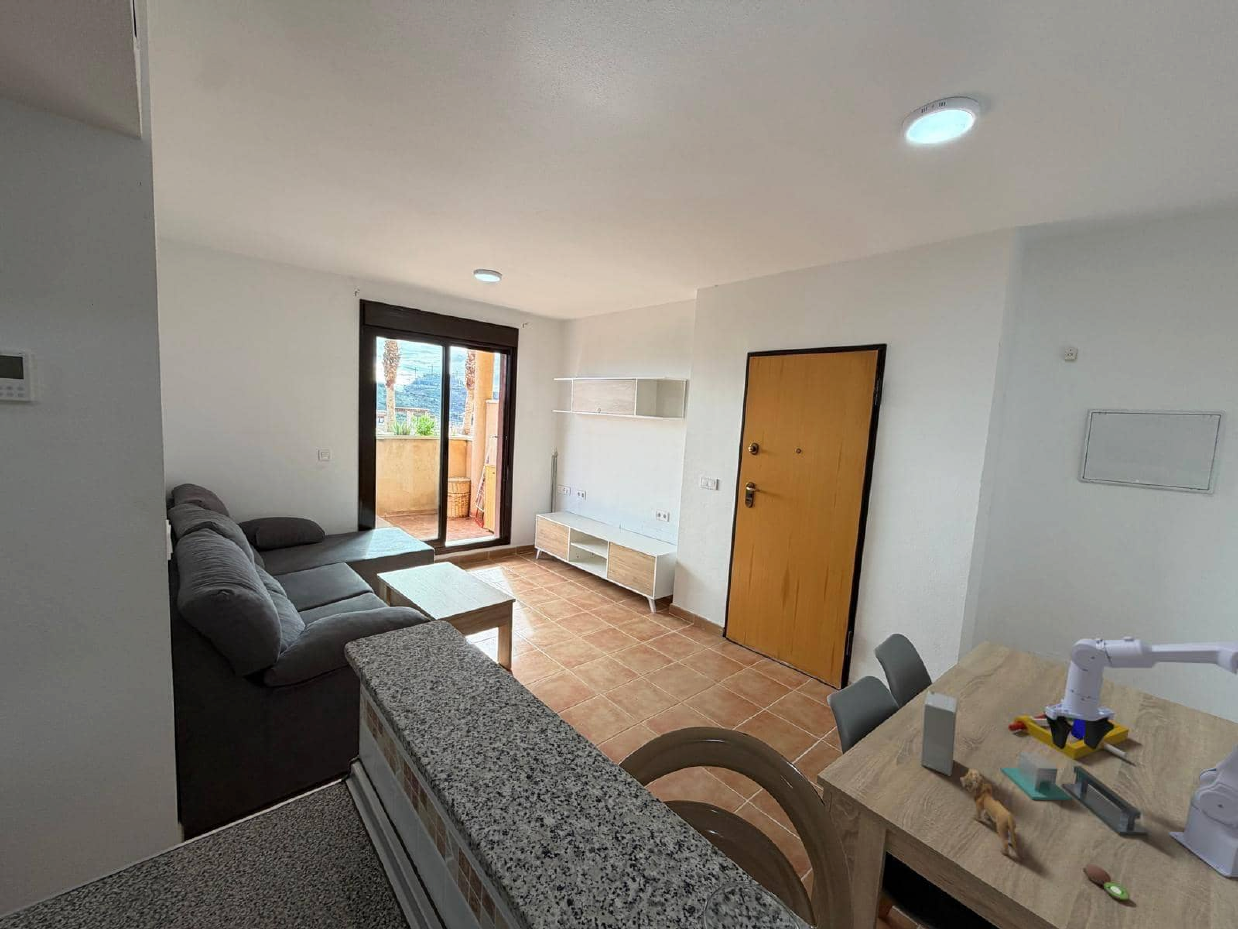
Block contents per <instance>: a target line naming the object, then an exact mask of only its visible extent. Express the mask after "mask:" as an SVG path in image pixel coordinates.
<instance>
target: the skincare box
mask: <svg viewBox="0 0 1238 929" xmlns="http://www.w3.org/2000/svg"><path fill="white" fill-rule="evenodd" d="M923 708H924V709H923V721H922V722H923V723H922V736H921V751H920V765H922V766H924V767H926V768H929V769H931V770H934V771H937V772H939V773H941V774H944V775H947V776H949V777H951V776H952V772H953V763H954V752H955V751H954V748H955V737H956V734H955V733H956V722H957V711H958V698H954V697H952V696H948V695H945V694H944V695H943V694H940V693H938V692H934V691H931V690H928V691H927V695H925V702H924V707H923Z"/></svg>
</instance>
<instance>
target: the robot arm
mask: <svg viewBox="0 0 1238 929" xmlns="http://www.w3.org/2000/svg"><path fill="white" fill-rule="evenodd" d="M1069 657H1070V660H1071V661H1070V663H1069V664H1070V666H1069V668H1068V674H1067V680H1066V685H1065V693H1064V699H1063V698H1062V699H1060V703H1058V704H1055V705H1051V706H1045V710H1044V713H1043V715H1045V717H1046V719H1047V721H1048V724H1049V726H1048V727H1049V730H1050V733H1051V734H1052V740H1053V744H1055V745H1056V746H1057V747H1059V748H1060V749H1064V748H1065V745H1066V741H1067V740H1068V736H1069V735H1070V734H1071V730H1072V729H1073V728H1074V726H1073V724H1070V723H1069V722H1068V719H1066V718H1077V719H1083V720H1084V726H1085V731H1084V744H1086V745H1087V746H1088V747H1090V748H1091V749H1093V750H1095V749H1096V748H1097V746H1098V744H1099V743H1100V741H1101V740H1102V738H1103V737H1104V736H1105V735H1106V734H1107V733H1108V732H1110V731H1111V730H1113V729H1114V725H1113V724H1112V723H1111V722H1109V721H1108V720H1110V721H1114V719H1115V718H1114V717H1115V712H1114V711H1112V710H1111V709H1109V708H1107V707H1102V706H1101V707H1100V701H1101V694H1102V690H1103V688H1102V687H1103V683H1104V675H1103V674H1104V670H1105V667H1107V668H1112V669H1115V668H1116V669H1121V668H1122V669H1124V668H1125V669H1153V668H1154V667H1155V665H1156V664H1157V663H1179V664H1180V663H1183V664H1185V663H1186V664H1209V665H1210V664H1211V665H1212V664H1213V665H1216V666H1218V667H1220V668H1221V669H1223V670H1225V671H1229V672H1230V673H1232V674H1234V675H1238V640H1226V641H1225V640H1223V641H1205V642H1189V643H1188V642H1186V643H1169V644H1167V643H1166V644H1165V643H1164V644H1150V643H1149V642H1147V641H1145V640H1143V639H1140V638H1138V639H1134V638H1133V636H1124V637H1123V639H1104V640H1103V638H1101V637H1096V638H1095V639H1092V638H1082V639H1078V640H1077V641H1076V642H1075V643H1074V644H1073V646H1072V647H1071V648H1070V651H1069ZM1067 742H1068V741H1067ZM1186 815H1187V816H1186V821H1185V826H1184V829H1183V830H1184V831H1170V832H1169V835H1170V836H1171V837H1172V838H1173V839H1175V840H1176V841H1178V842H1179V843H1180V844H1181V845H1183V846H1184V847H1186V849H1188V850H1189V851H1191V852H1192V853H1193V854H1194V855H1196V856H1197V857H1198V858H1200V859H1201V861H1203V862H1205V863H1206V864H1207V865H1209V866H1210V867H1211V868H1213V869H1214V870H1215V871H1217V873H1220V874H1221V876H1223V877H1226V878H1238V742H1237V743H1236V745H1235V746H1234V747H1233V748H1232V750H1231V751H1230V752H1229V753H1228V755H1227V756H1226V757H1225V758H1224V759H1223V760H1221V761H1219V762H1218V763H1217V764H1216V765H1215V766H1213V767H1212V768H1207V769H1204V770H1202V771H1201V772H1200V773H1199V775H1198V788H1197V790H1196V792H1195V794H1194V795H1192V796H1191V797H1190V801H1189V807H1188V812H1187V814H1186Z"/></svg>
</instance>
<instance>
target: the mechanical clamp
mask: <svg viewBox="0 0 1238 929" xmlns="http://www.w3.org/2000/svg"><path fill="white" fill-rule="evenodd" d="M1066 720H1069V721H1071V722H1072V726H1074V728H1073V729H1072V730H1071V732H1070V734H1071V735H1072V736H1073V737H1076V738H1077V739H1079V740H1078V741H1076V742H1073V743H1071V742H1068V741H1066V745H1065V748H1064V749H1060V748H1059V747H1057V746H1056V745H1055V744H1053V740H1052V734H1051V731H1049V730H1047V729H1045V728H1043V727H1050V726H1049V724H1048V721H1047V719H1046V717H1045V715H1044V714H1041V715H1038V716H1035V717H1034V716H1030V715H1029V716H1028V715H1022V716H1018V717H1015V718H1014V719H1013V724H1009V725H1008V729H1009V731H1011V732H1016V731H1019V730H1020V731H1022V732H1024V733H1026V734H1027V735H1029V736H1031V737H1032V738H1034V739H1036V740H1038V741H1039V742H1041V743H1043V744H1044V745H1046V746H1049V747H1050V748H1051V749H1053V750H1056V751H1057V752H1059V753H1061V754H1063V755H1064V756H1066V757H1068V758H1070V759H1072V760H1077V759H1079V758H1082V757H1084V756H1086V755H1089V754H1092V753H1095V752H1097V751H1100V750H1102V749H1104V750H1106V751H1109V752H1110V753H1112V754H1114V755H1116V756H1118V757H1120V758H1122V759H1126V757H1127V753H1126V752H1124V751H1123V750H1121V749H1118V748H1117V747H1115V746H1113V745H1115V744H1118V743H1120V742H1123V741H1126V740H1128V736H1129V733H1130V732H1129V731H1130V729H1129V728H1128V727H1125V726H1124V725H1121V724H1119V723H1117V722H1114V720H1108V721H1109V722H1111V723H1112V724H1113V725H1114V729H1113V730H1111V731H1110V732H1108V733H1107V734H1106V735H1105V736H1104V737H1103V738H1102V740H1101V741H1100V743H1099V744H1098V746H1097V748H1096V749H1095V750H1093V749H1091V748H1090V747H1088V746H1087V745H1086V744H1084V731H1085V726H1084V720H1083V719H1077V718H1066Z"/></svg>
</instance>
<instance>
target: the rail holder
mask: <svg viewBox="0 0 1238 929" xmlns="http://www.w3.org/2000/svg"><path fill="white" fill-rule="evenodd" d="M1072 771H1073V773H1074V774H1075V779H1074V783H1065V782H1063V783H1061V786H1060V788H1061V789H1063V790H1065V791H1066V792H1067V793H1068V794H1070V795H1071V797H1073V798H1074V799H1075V800H1077V801H1078V802H1079V803H1080V804H1082V805H1083V807H1085V809H1087V810H1088V811H1090V812H1091V813H1092V814H1093V815H1094V816H1096V817H1097V819H1099V820H1100V821H1101V822H1103V823H1104V824H1105V826H1108V827H1109V829H1111V830H1112V831H1113V832H1114V833H1116V834H1117V835H1118V836H1131V837H1133V836H1134V837H1135V836H1137V837H1148V830H1145V828H1143V827H1141V825H1139V824H1138V823H1137V822H1136V820H1140V819H1141V815H1142V812H1141V811H1140V810H1138V809H1137V808H1136V807H1135V806H1134V805H1132V804H1131V803H1129V801H1127V800H1125V799H1124V798H1123V797H1121V796H1120V795H1119V794H1118V793H1116V792H1115V791H1114V790H1113V789H1111V788H1110V787H1108V785H1107V784H1104V783H1103V782H1102V781H1101V780H1100V779H1098V778H1097V777H1095V775H1093V774H1091V773H1090V772H1089V771H1088V770H1086V769H1085V768H1084V767H1083V766H1081V765H1074V766H1073V770H1072Z"/></svg>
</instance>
